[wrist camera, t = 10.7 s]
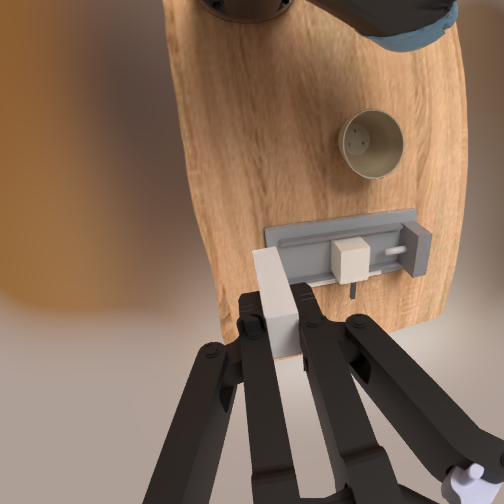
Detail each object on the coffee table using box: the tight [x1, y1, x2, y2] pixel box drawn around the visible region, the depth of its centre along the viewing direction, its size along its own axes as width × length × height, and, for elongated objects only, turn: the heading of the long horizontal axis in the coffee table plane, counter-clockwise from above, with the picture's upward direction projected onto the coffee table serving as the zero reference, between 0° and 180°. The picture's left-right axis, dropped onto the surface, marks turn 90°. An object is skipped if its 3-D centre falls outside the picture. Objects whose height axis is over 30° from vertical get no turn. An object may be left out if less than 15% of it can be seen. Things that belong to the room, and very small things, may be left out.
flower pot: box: [338, 109, 405, 179], centre depth 40 cm, size 10×10×7 cm
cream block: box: [331, 235, 370, 299], centre depth 49 cm, size 10×5×5 cm, turn 7°
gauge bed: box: [264, 208, 432, 287], centre depth 48 cm, size 12×28×7 cm, turn 97°
